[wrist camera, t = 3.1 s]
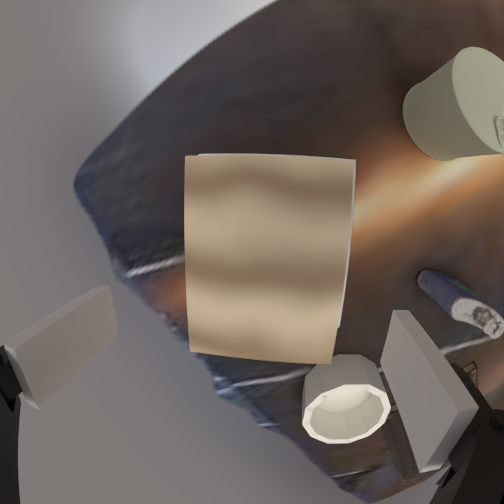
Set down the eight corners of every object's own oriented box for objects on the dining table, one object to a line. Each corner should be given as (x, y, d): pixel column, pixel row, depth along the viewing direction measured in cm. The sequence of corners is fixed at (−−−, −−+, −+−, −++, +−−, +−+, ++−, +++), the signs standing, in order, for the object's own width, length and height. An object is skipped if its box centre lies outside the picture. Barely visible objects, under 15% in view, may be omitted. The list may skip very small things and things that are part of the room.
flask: (412, 284, 29) (455, 326, 19) (424, 261, 28) (472, 294, 18) (463, 309, 29) (507, 350, 18) (473, 289, 28) (522, 325, 18)
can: (407, 159, 26) (466, 149, 15) (395, 78, 24) (441, 33, 13) (473, 162, 25) (540, 160, 13) (461, 88, 23) (519, 58, 11)
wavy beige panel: (196, 158, 23) (185, 155, 20) (347, 163, 21) (353, 161, 19) (198, 337, 26) (190, 350, 24) (328, 349, 25) (330, 364, 22)
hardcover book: (399, 473, 37) (401, 481, 35) (376, 408, 34) (379, 419, 32) (472, 437, 34) (476, 444, 31) (472, 359, 30) (478, 367, 28)
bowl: (308, 352, 33) (310, 383, 27) (387, 354, 31) (400, 383, 26) (299, 411, 35) (298, 442, 29) (368, 411, 34) (375, 441, 28)
